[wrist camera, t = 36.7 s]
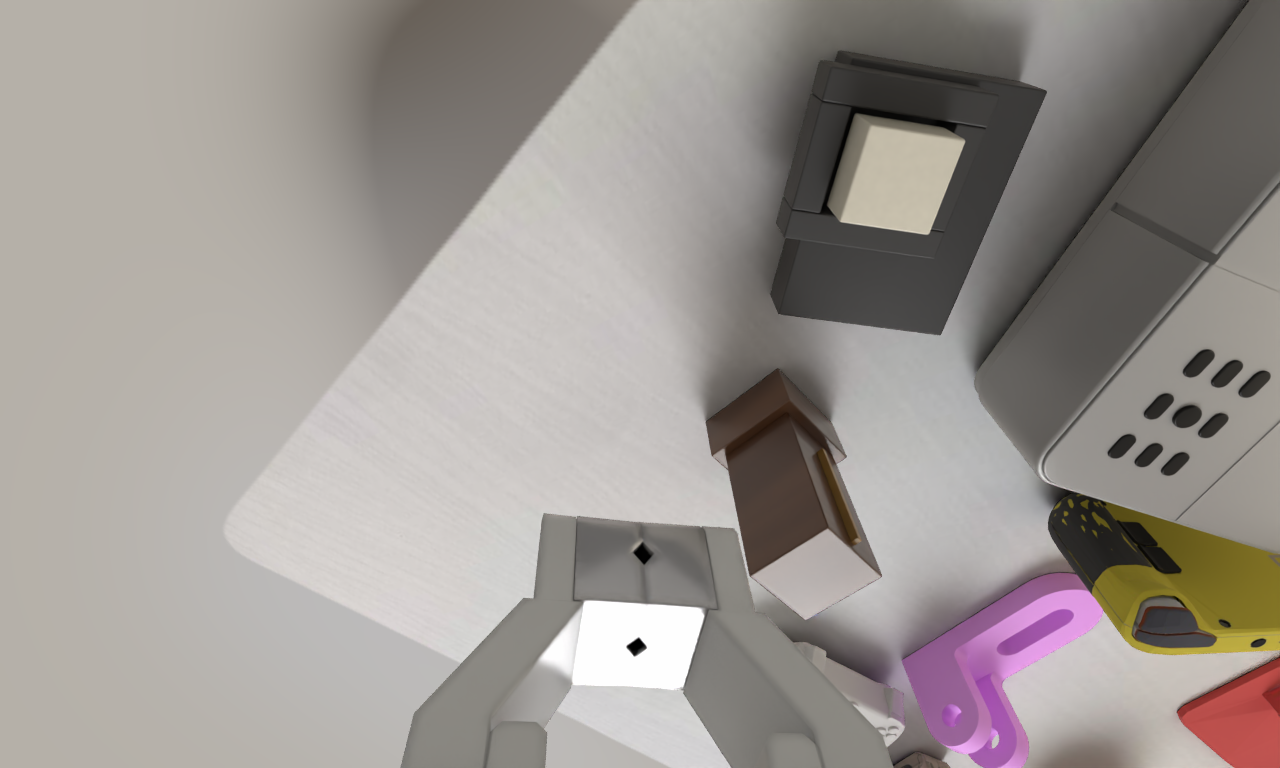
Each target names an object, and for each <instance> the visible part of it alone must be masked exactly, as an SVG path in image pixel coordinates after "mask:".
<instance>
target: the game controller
mask: <svg viewBox="0 0 1280 768" xmlns="http://www.w3.org/2000/svg"><path fill="white" fill-rule="evenodd" d="M793 643H794V644H795V645H796V646H797V647H798V648H799V649H800V650H801V651H802V652H803V653H804V654H805V655H806V657H807V658H808V659H809V660H810V661H811V662H812V663H813V664H814V665H815V666H816V667H817V668H818V669H819V670H820V671H821V672H822V673H823V674H824V675H825V676H826V677H827V678H828V679H829V680H830V681H831V682H832V683H833V684H834V686H835V687H836V688H837V689H838V690H839V691H840V692H841V693H842V694H843V695H844V696H845V697H846V698H847V699H848V700H849V701H850V702H851V703H852V704H853V705H854V706H855V707H856V708H857V709H858V710H859V711H860V712H861V713H862V715H863V716H864V717H865V718H866V719H867V720H868V721H869V722H870V723H871V724H872V725H873V726H874V727H875V728H876V729H877V730H878V731H879V732H880V733H881V734H882V735H883V738H884V741H885V744H886V747H888V746H889V745H890V744H892V743H893V742H894V741H895V740H896V739H897V738H898V737H899V736H900V735H901V734H902V732H903V731H904V728H905V718H904V708H903V695H904V694H903V693H902V692H900V691H898V690H896V689H894V688H891V687H890V686H888V685H887V684H884V683H877V682H875V681H873V680H871V679H869V678H867V677H865V676H863V675H861V674H859V673H857V672H855V671H853V670H851V669H849V668H847V667H845V666H843V665H841V664H839V663H837V662H835V661H833V660H831V659H829V658H827V657H826V651H825V650H823V649H821V648H819V647H817V646H815V645H813V646H812V645H811V644H809V643H807V642H793Z"/></svg>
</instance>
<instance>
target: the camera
mask: <svg viewBox="0 0 1280 768" xmlns="http://www.w3.org/2000/svg"><path fill="white" fill-rule="evenodd" d="M893 767H894V768H950V766H949V765H948V764H947V763H945V762H943V761H940V760H938V759H935V758H933V757H930V756H928V755H925V754H923V753H920V752H915V753H914V754H912V755H910V756H908V757H907V758H905V759H904V760H902V761H901V762H899V763H898V764H896V765H894V766H893Z"/></svg>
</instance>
